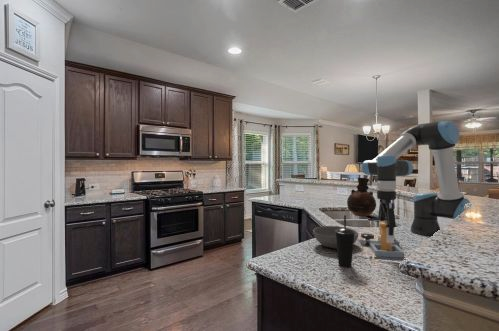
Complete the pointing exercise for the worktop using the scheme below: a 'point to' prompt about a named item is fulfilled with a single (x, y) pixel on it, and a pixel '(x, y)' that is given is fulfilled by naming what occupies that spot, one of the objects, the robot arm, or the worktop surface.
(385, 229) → the lock pin
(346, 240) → the drinking cup
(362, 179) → the ceramic vessel
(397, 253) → the tray
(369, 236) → the tensioner plate
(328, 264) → the worktop surface
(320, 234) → the bowl
